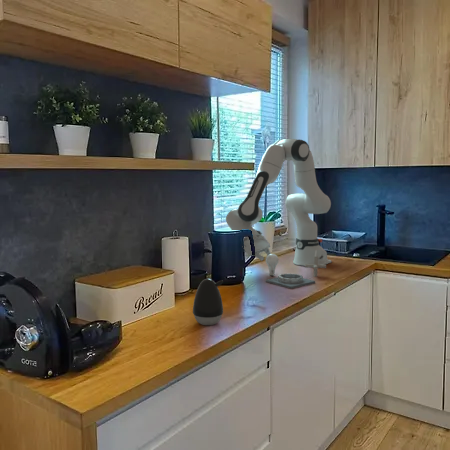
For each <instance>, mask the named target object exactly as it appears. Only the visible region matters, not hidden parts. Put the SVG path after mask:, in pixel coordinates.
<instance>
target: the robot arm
mask: <svg viewBox="0 0 450 450" xmlns="http://www.w3.org/2000/svg"><path fill="white" fill-rule="evenodd" d="M285 161H289V162H291V161H292V163H293V174H294V181H295V182H294V183H295V185H296V186H297V187H298V188H299V189H301V190H302V192H304V193H301V192H298V193H292V194H291V193H290V194H289V195H287V197H286V198H285V208H286V209H287V211H288V212H290V213H291V215H292V216H293V218H294V221H295V223H296V237H295V238H296V239H295V244H296V246H295V251H294V259H292V260H293V264H294V265H297V266H303V267H305V264H314V256H318V264H324V265H327V264H331V263H332V260H331V259H329V258H328V253H327V250H325V249H324V248H323V247H322V246H321V245H320V243H323V239H322V238H318V225H317V223H316V222H315V220H312V219H311V217H310V216H309V215H310V214H311V215H320V214H321V215H323V214H327V213H328V212H329V210H331V205H332V202H331V199H330V197H329V196H328V195H327V194H326V193H324V192H323V190H322V189H321V188H320V186H319V185H318V182H317V176H316V167H315V161H314V157H313V153H312V151H311V150H310V145H309V144H308V142H307V141H306V140H303V139H296V138H287V139H286V138H285V139H284V138H281V139H276V141H275V142H273V144H270V145H269V146H268V147H267V149H266V150H265V152H264V154H263V155H262V158H261V160H260V163H259V164H258V168H257V171H256V175H255V177H254V180H253V183H252V184H251V186H250V189H249V191H248V193H247V196H246V198H245V199H244V200H243V201H242V202H240V204H239V206H238V208H234V209H231V210H230V211H228V213H227V215H226V216H225V221H226V222H225V223H226V224H227V226H228V228H230V230H231V231H232V230H242V229H249V230H251V231H252V234H253V239H254V246H255V255H254V257H256V258H257V259H259V260H260V262H263V261H264V260H265V257H264V255H261V254H260V253H263V252H264V253H266V257H267V256H268V255H269V254H272V253H271V251H270V248H271V244H270V242H269V241H268V240H267V239H266V237H265V236H264V235H262V234H263V233H262V232H261V231H260V230H257V229H255V228H253V226H254V225H256V224H258V223H259V222H260V221H261V220H262V219H263V211H262V209H261V208H260V206H259V204H260V203H259V202H260V200H261V198H262V196H263V193H264V191H265V189H266V187H267V186H268V185H270V184H273V183H275V182H276V181H277V179H278V177H279V176H280V173H281V171H282V167H283V164H284V162H285ZM243 249H244V250H245V252H246V253H247V255H248V256H250V257H252V256H253V255H252V251H251V245H250V240H249V238H248V237H245V238H244V248H243ZM251 255H252V256H251Z"/></svg>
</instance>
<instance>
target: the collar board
mask: <svg viewBox="0 0 450 450" xmlns="http://www.w3.org/2000/svg"><path fill="white" fill-rule="evenodd" d="M265 282H266V283H269V284H272V285H276V286H279V287H284V288H285V289H286V288H287V289H290V290H291V289H292V290H293V289H296V288H301V287H305V286H308V285H313V284H316V280H313V279H307V278H305V277H303V274H298V273H281V274H278V275H277V277H273V278H268V279H265Z"/></svg>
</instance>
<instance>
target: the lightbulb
mask: <svg viewBox="0 0 450 450" xmlns="http://www.w3.org/2000/svg"><path fill="white" fill-rule="evenodd" d="M265 263H266V266H267V267H268V270H269V272H268V273H269V274H268V275H269V276H271V277H273V276H275V270H276V267H277V266H278V264H279V257H278V255H277V254H275V253H271V254H269V255H268V256H267V255H266V257H265Z"/></svg>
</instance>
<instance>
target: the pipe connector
mask: <svg viewBox="0 0 450 450" xmlns="http://www.w3.org/2000/svg"><path fill="white" fill-rule="evenodd" d="M304 268H310V269H313V277H315V278H317V277H318V269H327V264H325V265H324V264H318V256H314V264H305V266H304Z"/></svg>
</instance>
